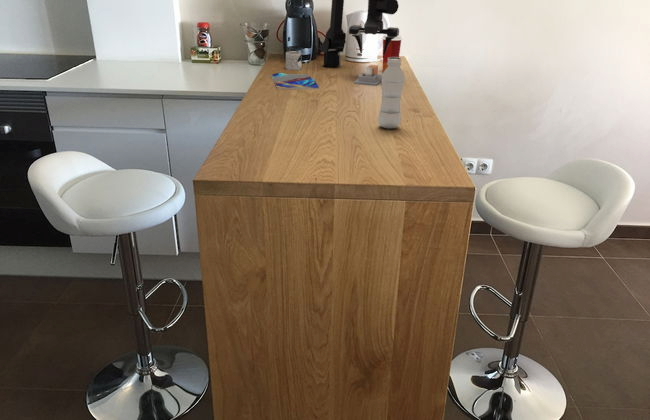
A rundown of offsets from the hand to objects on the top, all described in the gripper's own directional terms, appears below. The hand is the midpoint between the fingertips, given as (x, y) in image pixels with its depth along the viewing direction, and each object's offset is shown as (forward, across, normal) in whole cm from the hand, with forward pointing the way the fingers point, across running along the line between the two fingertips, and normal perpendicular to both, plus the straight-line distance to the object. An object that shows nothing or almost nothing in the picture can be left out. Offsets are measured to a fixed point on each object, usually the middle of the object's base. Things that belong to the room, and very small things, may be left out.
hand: (372, 53), depth 224 cm
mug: (+10, -36, +10) cm, 38 cm away
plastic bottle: (+10, +18, -64) cm, 68 cm away
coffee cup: (+10, +4, +18) cm, 21 cm away
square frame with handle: (+9, 0, -1) cm, 9 cm away
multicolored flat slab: (+11, -27, -16) cm, 33 cm away
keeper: (+10, 0, -1) cm, 10 cm away
